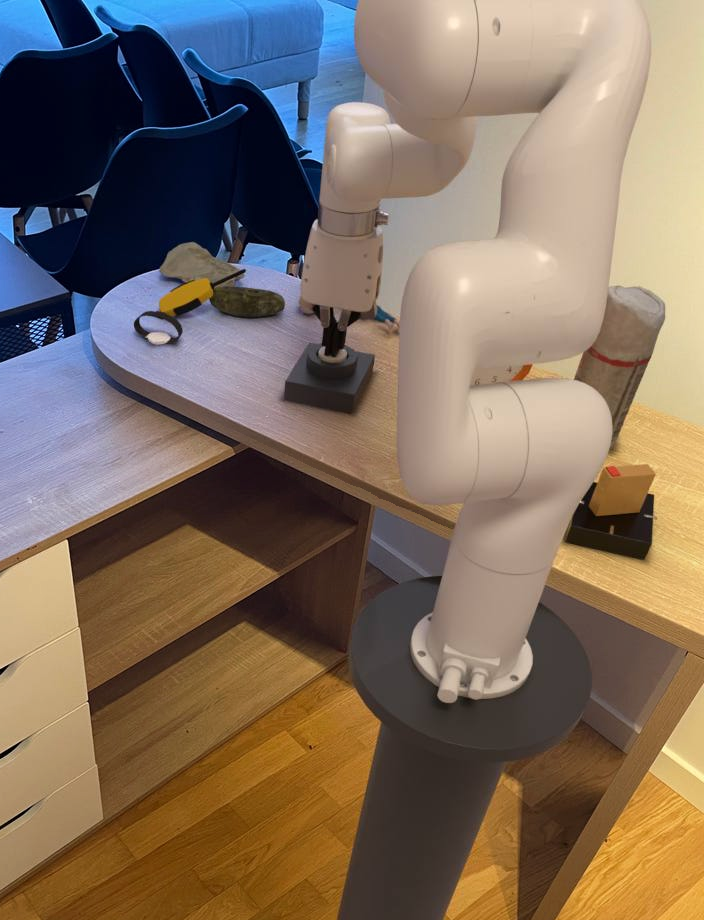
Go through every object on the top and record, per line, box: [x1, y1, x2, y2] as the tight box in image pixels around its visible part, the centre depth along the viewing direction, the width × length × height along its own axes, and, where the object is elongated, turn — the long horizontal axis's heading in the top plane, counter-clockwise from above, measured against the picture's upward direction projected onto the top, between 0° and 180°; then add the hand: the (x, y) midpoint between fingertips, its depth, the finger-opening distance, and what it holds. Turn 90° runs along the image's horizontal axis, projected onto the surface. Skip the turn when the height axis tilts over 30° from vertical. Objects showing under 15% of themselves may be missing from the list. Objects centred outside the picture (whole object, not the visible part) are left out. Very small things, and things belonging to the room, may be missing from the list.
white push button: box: [318, 347, 347, 363], centre depth 127 cm, size 4×4×2 cm
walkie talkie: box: [158, 268, 247, 317], centre depth 142 cm, size 5×2×15 cm
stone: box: [158, 241, 246, 288], centre depth 153 cm, size 15×3×10 cm
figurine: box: [373, 304, 400, 334], centre depth 144 cm, size 6×4×15 cm
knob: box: [589, 463, 657, 516], centre depth 105 cm, size 6×2×6 cm, turn 99°
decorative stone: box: [208, 286, 286, 319], centre depth 144 cm, size 12×5×4 cm, turn 101°
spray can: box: [573, 285, 666, 452], centre depth 115 cm, size 8×8×20 cm
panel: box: [564, 481, 658, 561], centre depth 108 cm, size 10×10×3 cm
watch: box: [133, 310, 183, 345], centre depth 137 cm, size 8×5×4 cm
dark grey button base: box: [283, 342, 376, 415], centre depth 128 cm, size 12×10×5 cm
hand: (332, 351), depth 126 cm, fingers closed
